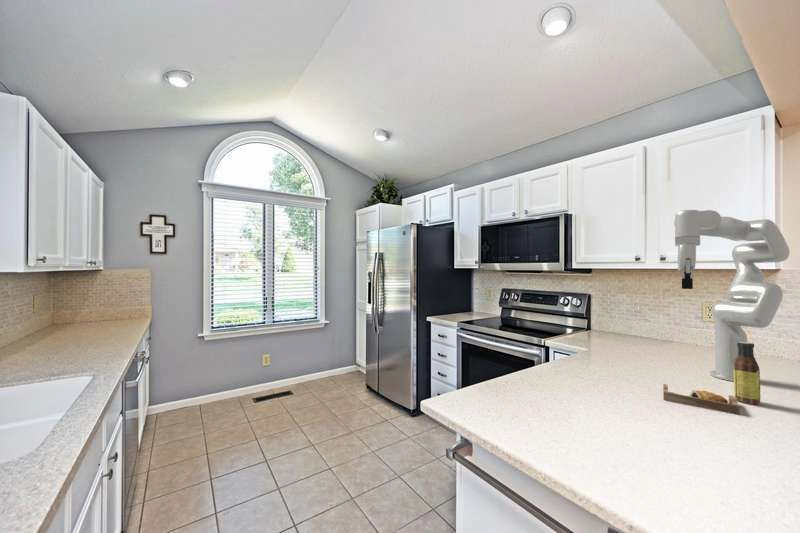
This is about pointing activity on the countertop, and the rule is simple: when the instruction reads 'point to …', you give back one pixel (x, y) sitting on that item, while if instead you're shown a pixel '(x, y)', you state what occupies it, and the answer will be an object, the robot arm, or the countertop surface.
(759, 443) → the countertop surface
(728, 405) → the open wooden frame
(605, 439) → the countertop surface
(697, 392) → the pastry
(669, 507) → the countertop surface
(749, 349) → the sauce bottle
